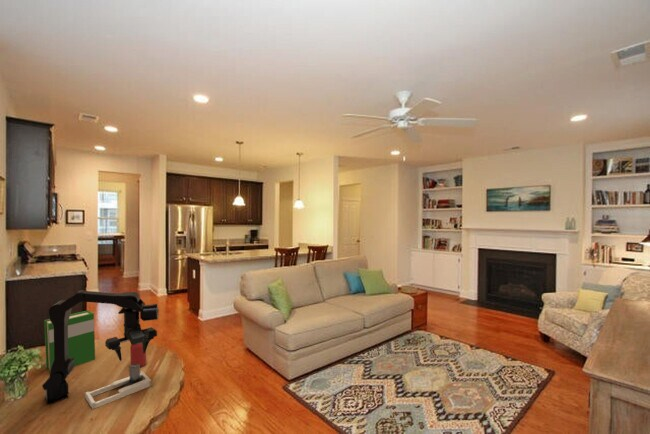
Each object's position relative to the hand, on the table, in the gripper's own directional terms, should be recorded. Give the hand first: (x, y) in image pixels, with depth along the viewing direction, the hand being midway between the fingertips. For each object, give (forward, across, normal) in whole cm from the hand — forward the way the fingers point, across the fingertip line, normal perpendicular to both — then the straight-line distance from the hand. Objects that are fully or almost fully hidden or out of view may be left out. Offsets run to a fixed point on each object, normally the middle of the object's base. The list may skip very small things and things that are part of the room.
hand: (132, 356), depth 140 cm
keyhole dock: (+13, -5, -1) cm, 14 cm away
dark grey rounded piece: (+13, 0, -1) cm, 13 cm away
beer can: (+13, +8, +17) cm, 23 cm away
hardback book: (+13, -14, +42) cm, 46 cm away
